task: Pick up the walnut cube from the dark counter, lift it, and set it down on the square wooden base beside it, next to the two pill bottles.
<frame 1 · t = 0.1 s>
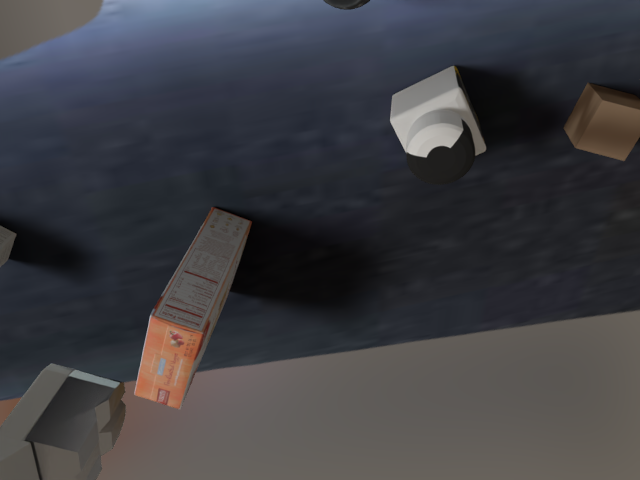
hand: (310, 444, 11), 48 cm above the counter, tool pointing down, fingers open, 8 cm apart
cube: (598, 111, 53), on the counter
medicine bottle: (435, 108, 55), on the counter
cracker box: (223, 250, 71), on the counter
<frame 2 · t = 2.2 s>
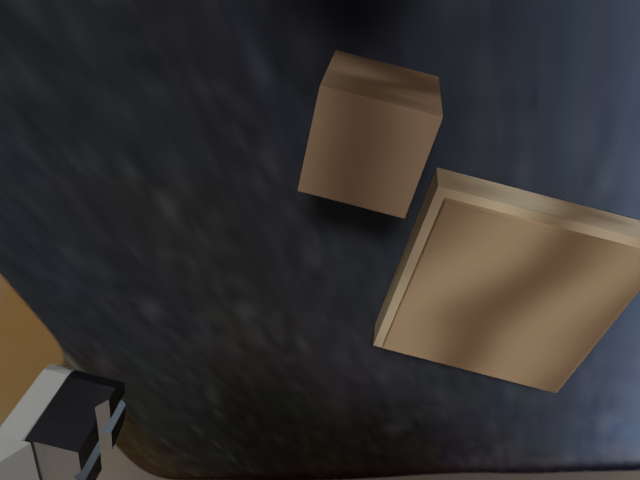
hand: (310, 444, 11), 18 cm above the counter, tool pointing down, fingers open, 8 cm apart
cube: (373, 111, 26), on the counter
square wooden base: (500, 279, 30), on the counter
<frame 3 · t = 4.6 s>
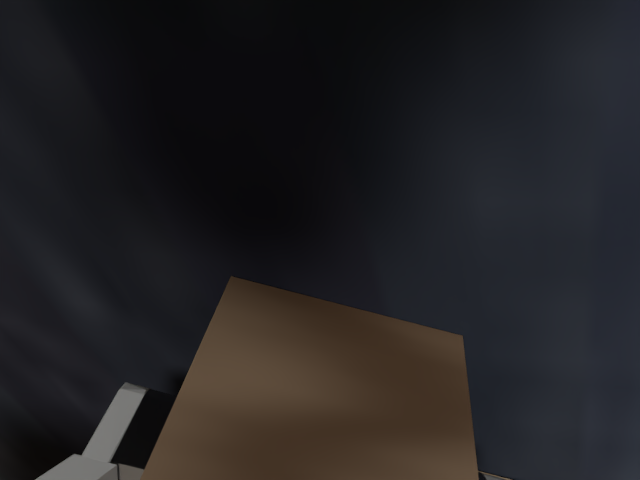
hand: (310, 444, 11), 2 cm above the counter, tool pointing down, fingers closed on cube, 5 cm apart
cube: (322, 379, 12), on the counter, touching gripper
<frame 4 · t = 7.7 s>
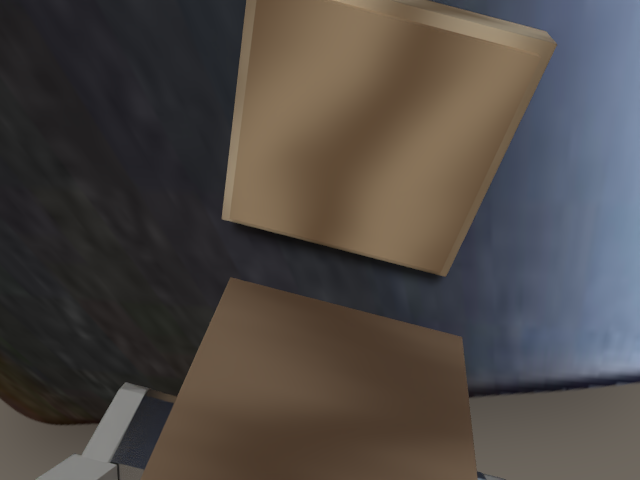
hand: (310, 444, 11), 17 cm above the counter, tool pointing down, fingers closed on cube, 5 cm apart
cube: (321, 380, 12), point 15 cm above the counter, touching gripper
square wooden base: (366, 127, 24), on the counter
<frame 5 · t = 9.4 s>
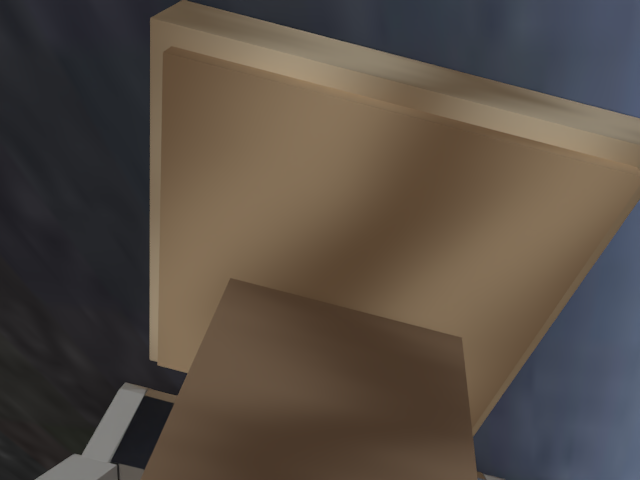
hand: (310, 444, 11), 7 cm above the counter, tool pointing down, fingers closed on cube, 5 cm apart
cube: (321, 381, 12), point 6 cm above the counter, touching gripper
square wooden base: (354, 241, 17), on the counter
when the fingers open (5 cm above the counter, at t = 10.7 s): cube stays where it is, resting on square wooden base.
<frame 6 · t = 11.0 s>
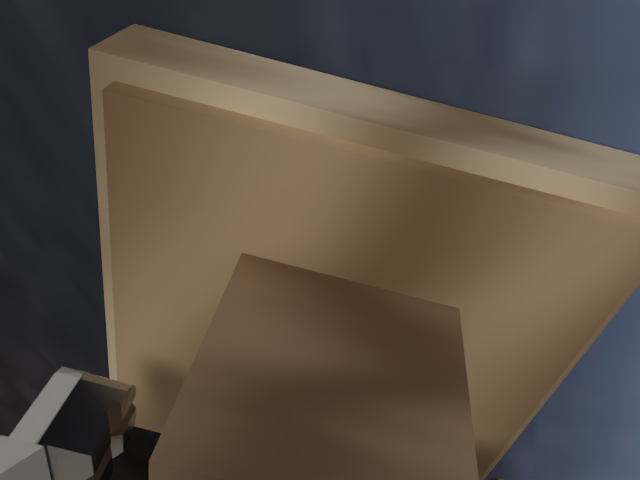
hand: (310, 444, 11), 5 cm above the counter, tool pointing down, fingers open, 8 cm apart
cube: (326, 353, 13), point 2 cm above the counter, touching square wooden base
square wooden base: (336, 288, 15), on the counter
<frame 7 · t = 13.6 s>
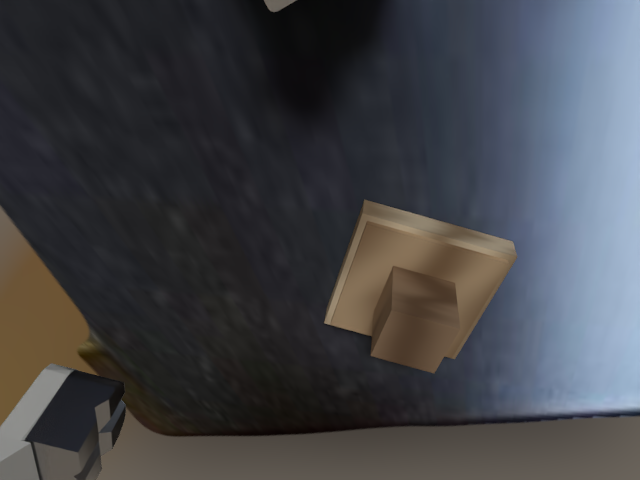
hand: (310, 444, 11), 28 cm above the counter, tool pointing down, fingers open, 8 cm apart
cube: (413, 297, 41), point 2 cm above the counter, touching square wooden base
square wooden base: (412, 277, 43), on the counter
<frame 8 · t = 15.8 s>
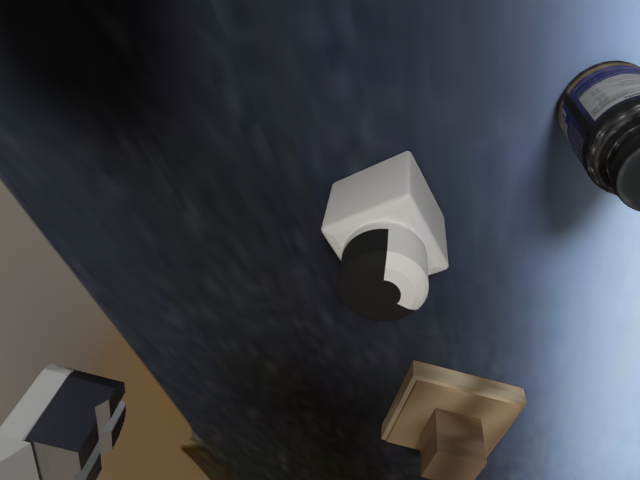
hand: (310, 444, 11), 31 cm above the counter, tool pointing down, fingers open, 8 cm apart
cube: (450, 426, 55), point 2 cm above the counter, touching square wooden base
square wooden base: (448, 407, 57), on the counter
medicine bottle: (388, 198, 43), on the counter
pill bottle: (601, 101, 36), on the counter
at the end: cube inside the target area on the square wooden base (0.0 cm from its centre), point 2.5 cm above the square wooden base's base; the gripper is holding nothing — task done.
